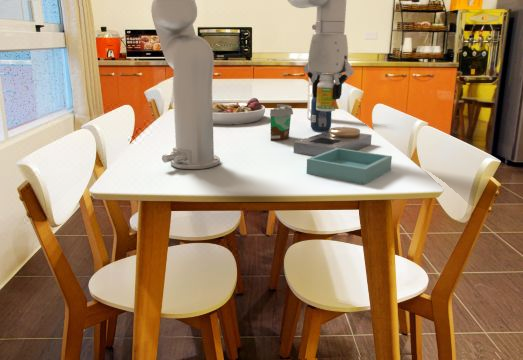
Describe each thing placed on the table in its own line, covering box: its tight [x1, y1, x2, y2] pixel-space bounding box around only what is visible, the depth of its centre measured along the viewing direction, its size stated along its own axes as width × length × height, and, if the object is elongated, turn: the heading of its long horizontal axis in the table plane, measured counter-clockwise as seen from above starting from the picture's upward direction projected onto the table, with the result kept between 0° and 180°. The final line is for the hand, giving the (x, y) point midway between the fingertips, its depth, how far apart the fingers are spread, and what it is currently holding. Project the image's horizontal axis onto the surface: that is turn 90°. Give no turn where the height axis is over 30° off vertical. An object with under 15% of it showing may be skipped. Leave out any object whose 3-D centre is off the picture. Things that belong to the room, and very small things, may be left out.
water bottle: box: [306, 73, 327, 121], centre depth 186 cm, size 7×7×25 cm
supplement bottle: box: [316, 73, 337, 112], centre depth 132 cm, size 5×5×10 cm
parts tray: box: [306, 148, 393, 185], centre depth 116 cm, size 15×15×4 cm
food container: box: [269, 103, 294, 142], centre depth 153 cm, size 12×6×10 cm, turn 168°
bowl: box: [212, 97, 266, 126], centre depth 188 cm, size 30×30×8 cm
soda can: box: [310, 97, 332, 133], centre depth 166 cm, size 7×7×12 cm
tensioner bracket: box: [293, 126, 373, 157], centre depth 140 cm, size 23×13×4 cm, turn 143°
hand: (326, 97), depth 132 cm, fingers closed on supplement bottle, 5 cm apart
